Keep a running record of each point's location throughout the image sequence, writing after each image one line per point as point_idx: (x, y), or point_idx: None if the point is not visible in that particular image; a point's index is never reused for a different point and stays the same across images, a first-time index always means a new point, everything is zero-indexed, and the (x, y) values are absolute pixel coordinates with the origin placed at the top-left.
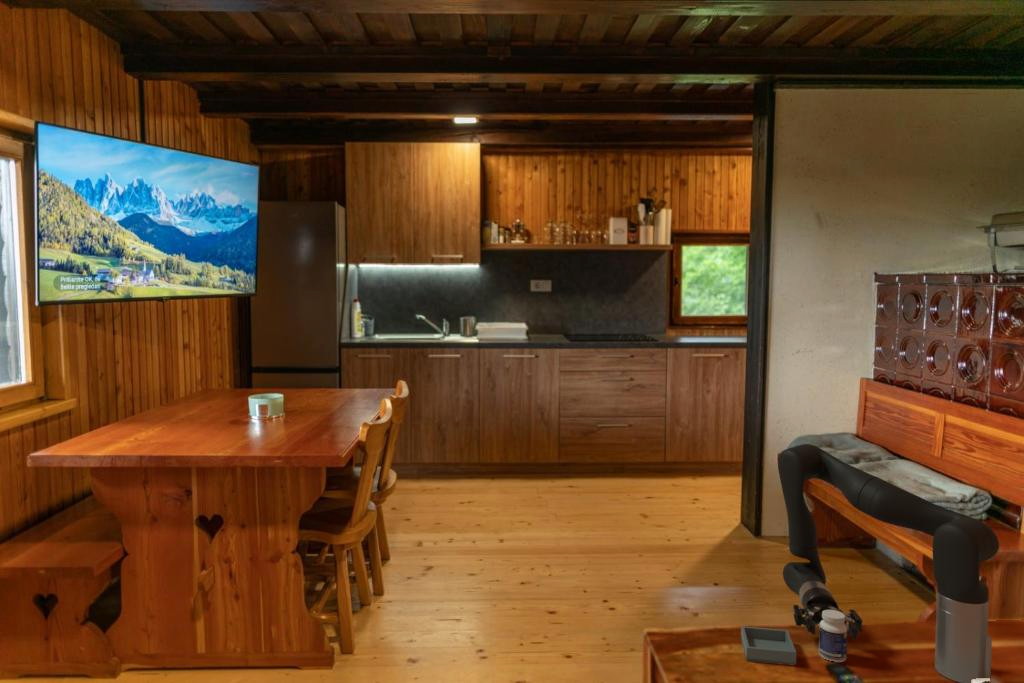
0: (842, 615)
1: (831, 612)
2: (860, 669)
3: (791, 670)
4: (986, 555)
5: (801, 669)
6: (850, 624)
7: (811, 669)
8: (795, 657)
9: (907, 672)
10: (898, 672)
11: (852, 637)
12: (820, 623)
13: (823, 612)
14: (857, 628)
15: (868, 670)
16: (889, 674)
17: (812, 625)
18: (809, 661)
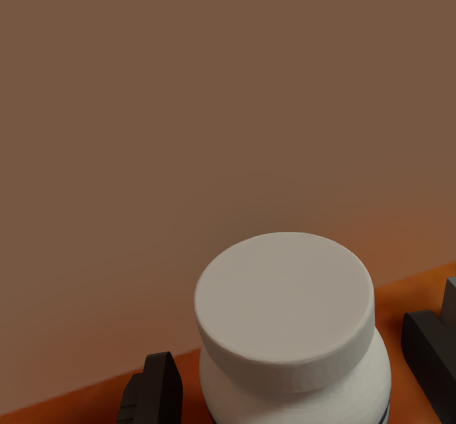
0: (212, 285)
1: (294, 301)
2: (198, 380)
3: (440, 288)
4: None
5: (410, 305)
6: (155, 420)
7: (377, 317)
8: (447, 295)
9: (21, 421)
10: (58, 408)
11: (181, 391)
12: (379, 335)
13: (360, 273)
14: (123, 403)
15: None
16: (104, 380)
17: (426, 310)
18: (402, 372)
